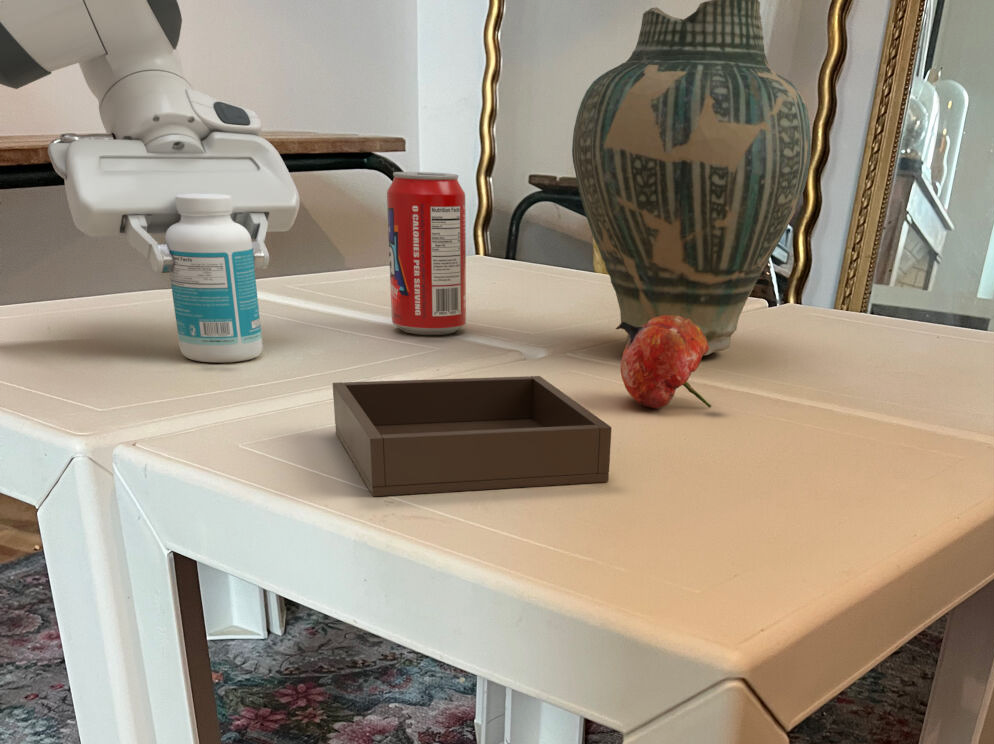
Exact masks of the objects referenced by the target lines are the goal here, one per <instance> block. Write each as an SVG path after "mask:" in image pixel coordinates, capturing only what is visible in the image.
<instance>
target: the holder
mask: <svg viewBox="0 0 994 744" xmlns="http://www.w3.org/2000/svg"><path fill="white" fill-rule="evenodd" d="M332 395H333V408H334V409H333V410H334V411H333V413H334V426H335V427H334V428H335V434H336V435H337V437H338V440H339V441H340V442H341V444H342V446H343V447H344V449H345V451H346V453H347V455H348V456H349V458H350V459H351V461H352V463H353V465H354V466H355V468H356V469H357V471H358V474H359V475H360V477H361V478H362V480H363V482H364V483H365V485H366V486H367V489H368V490H369V493H371V495H372V497H385V496H401V495H402V496H403V495H419V494H431V493H432V494H433V493H435V494H436V493H451V492H465V491H480V490H481V491H482V490H483V491H485V490H497V489H498V490H499V489H516V488H530V487H531V488H532V487H546V486H547V487H548V486H563V485H564V486H565V485H579V484H592V483H593V484H596V483H608V482H609V476H610V475H609V473H610V462H611V447H612V446H611V444H612V430H613V429H612V426H611V425H610V424H608V423H606V422H605V421H603V420H602V419H601V418H599V417H598V416H596V415H595V414H594V413H592V412H591V411H590V410H589V409H587V408H586V407H584V406H582V405H581V404H580V403H579V402H577V401H576V400H574V399H573V398H572V397H570V396H568V395H567V394H566V393H565V392H563V391H562V390H560V389H559V388H557V387H556V386H555V385H554V384H552V383H551V382H550V381H547V380H546V379H545V378H543V377H542V376H541V375H530V376H529V375H528V376H527V375H526V376H498V377H497V376H495V377H468V378H467V377H466V378H465V377H464V378H463V377H462V378H435V379H434V378H433V379H407V380H406V379H404V380H378V381H377V380H376V381H375V380H374V381H373V380H372V381H348V382H347V381H346V382H345V381H344V382H341V381H340V382H332Z"/></svg>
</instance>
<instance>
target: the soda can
mask: <svg viewBox="0 0 994 744" xmlns="http://www.w3.org/2000/svg"><path fill="white" fill-rule="evenodd" d="M392 176H393V179H392V182H391V183H390V185H389V187H388V188H387V190H386V203H387V204H386V205H387V206H386V207H387V231H388V233H387V234H388V257H389V258H388V260H389V261H388V262H389V286H390V312H391V314H390V315H391V322H392V323H393V325H394V326H396V327H397V328H399V329H400V330H401V331H403V333H407V334H411V335H418V336H446V335H451V334H454V333H456V332H457V331H458V330H460V329H461V328H463V327H464V326H465V325H466V322H467V270H466V269H467V264H466V263H467V258H466V255H467V254H466V253H467V248H466V245H467V244H466V243H467V241H466V239H467V238H466V237H467V235H466V193H465V190H464V189H463V188H462V185H461V184H460V182H459V180H458V179H459V175H458V174H456V173H448V172H447V173H445V172H434V171H433V172H429V171H395V172H393V173H392Z"/></svg>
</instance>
